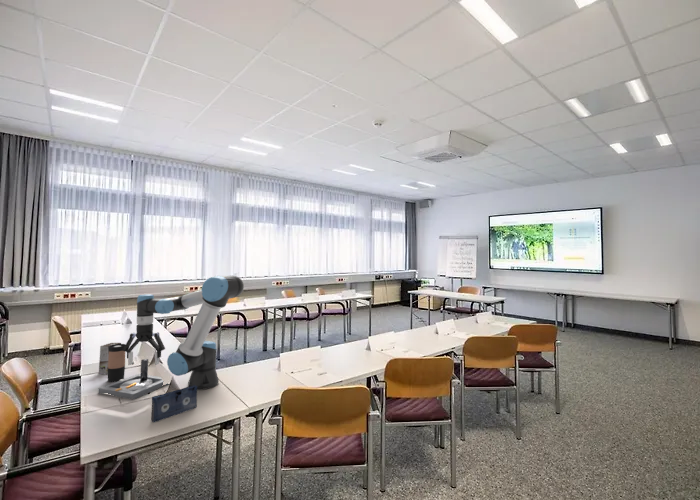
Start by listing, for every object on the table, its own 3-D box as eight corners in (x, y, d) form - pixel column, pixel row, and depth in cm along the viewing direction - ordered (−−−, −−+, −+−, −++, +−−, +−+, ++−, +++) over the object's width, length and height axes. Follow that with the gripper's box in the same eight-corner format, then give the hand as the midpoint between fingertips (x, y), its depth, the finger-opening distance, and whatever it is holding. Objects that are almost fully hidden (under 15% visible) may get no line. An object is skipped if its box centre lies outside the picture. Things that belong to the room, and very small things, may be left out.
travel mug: (104, 383, 176) (105, 346, 176) (119, 379, 182) (121, 343, 183) (111, 386, 172) (113, 348, 173) (127, 381, 179) (128, 344, 180)
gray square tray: (170, 385, 174) (171, 377, 175) (133, 402, 153) (133, 393, 153) (138, 380, 180) (138, 372, 181) (98, 396, 159) (98, 387, 159)
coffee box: (109, 374, 190) (110, 346, 190) (98, 374, 190) (99, 346, 190) (120, 369, 199) (121, 342, 199) (110, 368, 199) (111, 342, 199)
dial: (133, 381, 174) (134, 358, 175) (158, 382, 174) (159, 359, 174) (112, 391, 160) (113, 366, 161) (139, 393, 159) (140, 368, 160)
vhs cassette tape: (194, 406, 151) (195, 384, 151) (197, 408, 149) (198, 386, 149) (150, 420, 137) (151, 396, 137) (153, 423, 135) (154, 398, 135)
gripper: (115, 325, 169) (114, 367, 168) (165, 324, 171) (164, 365, 170) (124, 322, 176) (123, 362, 175) (172, 322, 178) (171, 361, 177)
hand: (143, 364), depth 173 cm, fingers open, 13 cm apart
